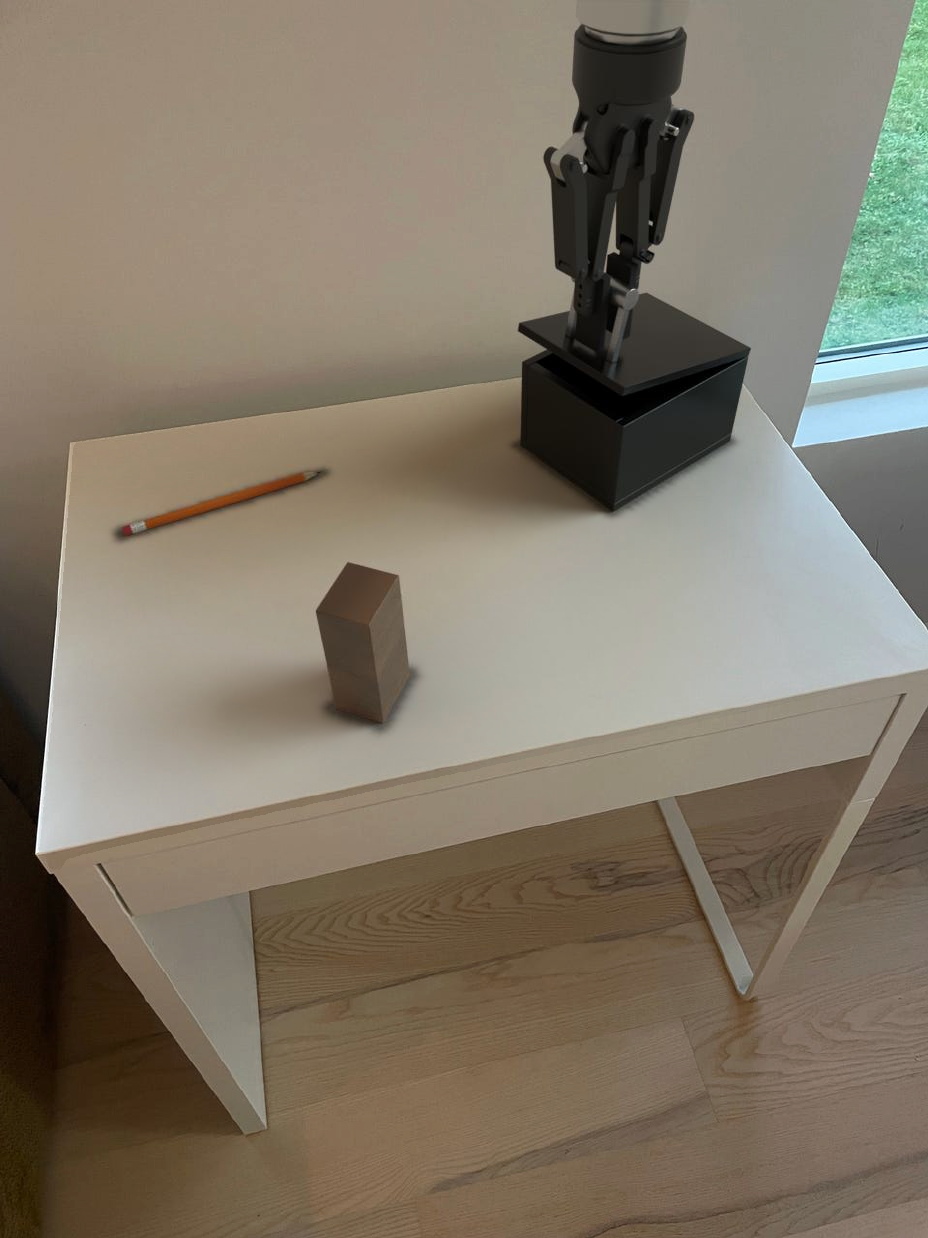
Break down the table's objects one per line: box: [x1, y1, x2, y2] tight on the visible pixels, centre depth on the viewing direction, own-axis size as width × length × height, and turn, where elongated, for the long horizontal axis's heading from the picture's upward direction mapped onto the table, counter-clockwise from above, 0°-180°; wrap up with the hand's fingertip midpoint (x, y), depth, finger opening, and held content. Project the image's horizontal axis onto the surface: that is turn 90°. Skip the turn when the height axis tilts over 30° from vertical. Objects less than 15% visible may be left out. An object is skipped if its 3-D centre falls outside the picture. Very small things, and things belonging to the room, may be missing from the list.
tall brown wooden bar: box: [315, 561, 411, 724], centre depth 70 cm, size 4×5×11 cm
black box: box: [519, 349, 749, 513], centre depth 90 cm, size 16×13×9 cm
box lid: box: [517, 271, 752, 396], centre depth 83 cm, size 17×13×7 cm
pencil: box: [121, 471, 323, 537], centre depth 89 cm, size 1×19×1 cm, turn 115°
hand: (602, 337), depth 82 cm, fingers open, 2 cm apart
